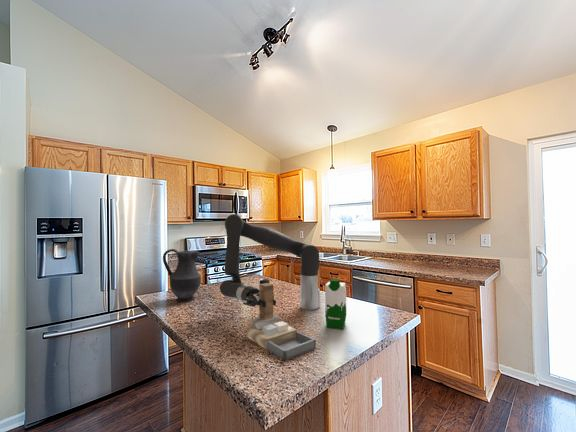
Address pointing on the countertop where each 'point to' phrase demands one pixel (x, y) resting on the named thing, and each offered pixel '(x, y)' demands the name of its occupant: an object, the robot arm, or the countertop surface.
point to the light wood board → (271, 336)
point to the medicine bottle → (263, 281)
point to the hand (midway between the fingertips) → (270, 303)
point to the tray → (292, 346)
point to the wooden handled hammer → (265, 313)
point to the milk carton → (335, 304)
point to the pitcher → (184, 275)
